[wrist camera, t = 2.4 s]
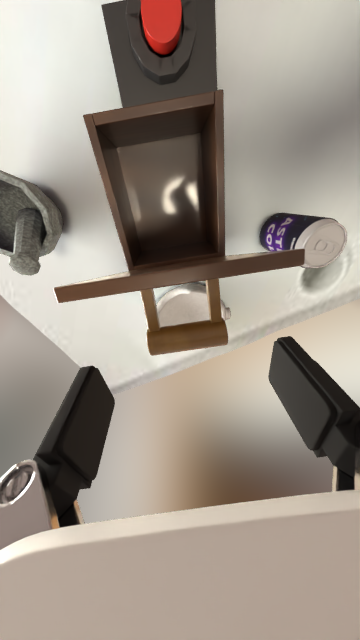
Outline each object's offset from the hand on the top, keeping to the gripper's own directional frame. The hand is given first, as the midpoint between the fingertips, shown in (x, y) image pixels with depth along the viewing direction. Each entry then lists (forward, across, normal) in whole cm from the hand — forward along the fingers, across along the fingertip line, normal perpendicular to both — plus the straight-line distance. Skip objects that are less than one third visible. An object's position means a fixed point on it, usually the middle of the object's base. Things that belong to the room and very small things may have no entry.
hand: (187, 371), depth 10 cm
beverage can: (+27, -17, -1) cm, 32 cm away
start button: (+23, -2, -22) cm, 32 cm away
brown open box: (+27, 0, -8) cm, 28 cm away
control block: (+26, -2, -21) cm, 34 cm away
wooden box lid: (+10, 0, -3) cm, 10 cm away
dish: (+27, -1, +12) cm, 29 cm away
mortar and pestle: (+27, +19, -8) cm, 34 cm away
